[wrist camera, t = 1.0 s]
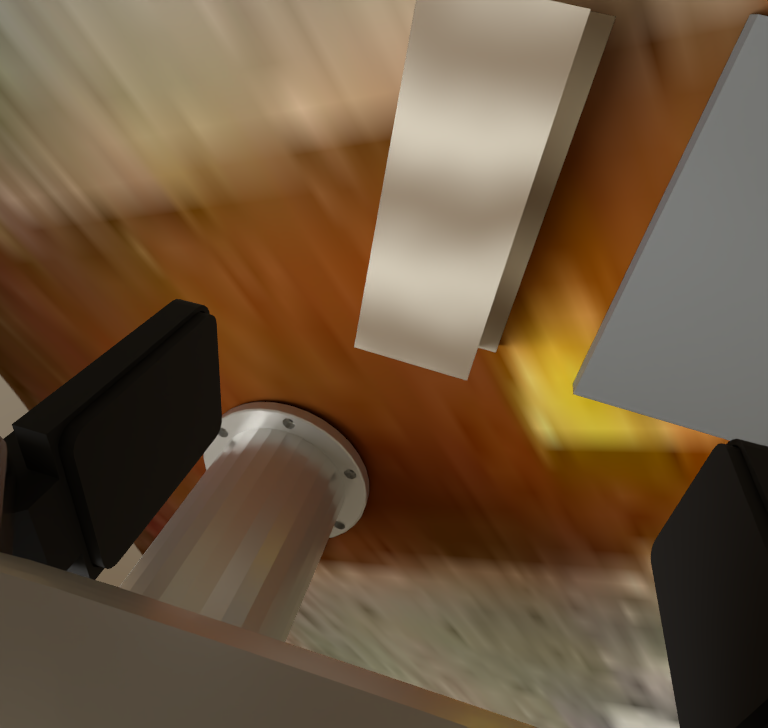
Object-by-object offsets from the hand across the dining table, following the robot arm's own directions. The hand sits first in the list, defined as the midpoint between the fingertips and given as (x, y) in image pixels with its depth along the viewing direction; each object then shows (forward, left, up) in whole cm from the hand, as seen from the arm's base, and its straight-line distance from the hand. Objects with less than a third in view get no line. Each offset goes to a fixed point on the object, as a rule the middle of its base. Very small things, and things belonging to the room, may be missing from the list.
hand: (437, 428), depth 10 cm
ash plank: (-1, +2, -20) cm, 20 cm away
